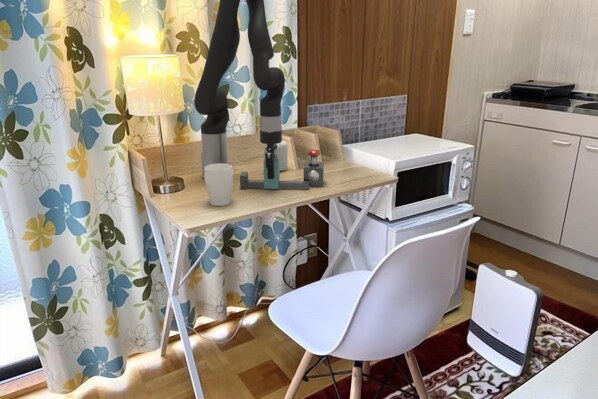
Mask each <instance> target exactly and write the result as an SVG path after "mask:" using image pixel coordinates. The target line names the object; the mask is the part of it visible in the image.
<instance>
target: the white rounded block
mask: <svg viewBox="0 0 598 399" xmlns="http://www.w3.org/2000/svg"><path fill="white" fill-rule="evenodd" d="M266 147H267V144H264V147H263V161H264V160H265V148H266ZM277 148H278V150H277V158H279V171H280V172H282V171H286V170H288V143H287V141H286V140H285V141H284V140H282V142H281V143H278V144H277Z"/></svg>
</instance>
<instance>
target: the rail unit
mask: <svg viewBox="0 0 598 399" xmlns="http://www.w3.org/2000/svg"><path fill="white" fill-rule="evenodd" d="M324 164H325V162H324V161H318V166H310V161H304V164H303V180H283V179H282V180H281V179H280V180H279V182H278V184H279V189H278V190H293V191H294V190H296V191H297V189H298V191H300V190H299V189H309V190H310V187H309V186H316V187H315V188H323V187H324V176H325V175H324V171H325V170H324V168H325V166H324ZM239 188H240V191H241V190H244V191H245V190H246V191H247V189H251V190H252V189H253V190H255V189H256V190H258V189H260V190H265V189H264V179H249V172H248V171H242V172H241V173H240V174H239Z"/></svg>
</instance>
